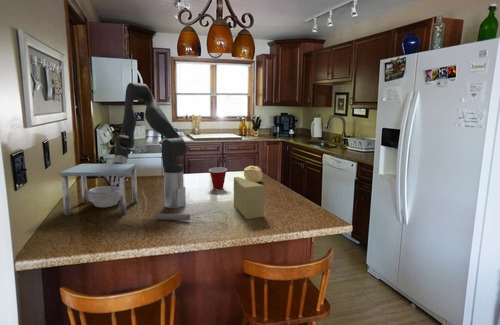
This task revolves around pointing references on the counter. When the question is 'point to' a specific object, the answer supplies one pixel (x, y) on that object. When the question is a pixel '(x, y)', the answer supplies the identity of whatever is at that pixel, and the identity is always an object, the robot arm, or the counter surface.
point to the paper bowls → (104, 196)
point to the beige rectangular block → (249, 198)
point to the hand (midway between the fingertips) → (112, 193)
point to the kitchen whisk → (182, 216)
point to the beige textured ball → (253, 174)
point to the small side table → (99, 170)
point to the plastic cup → (218, 177)
